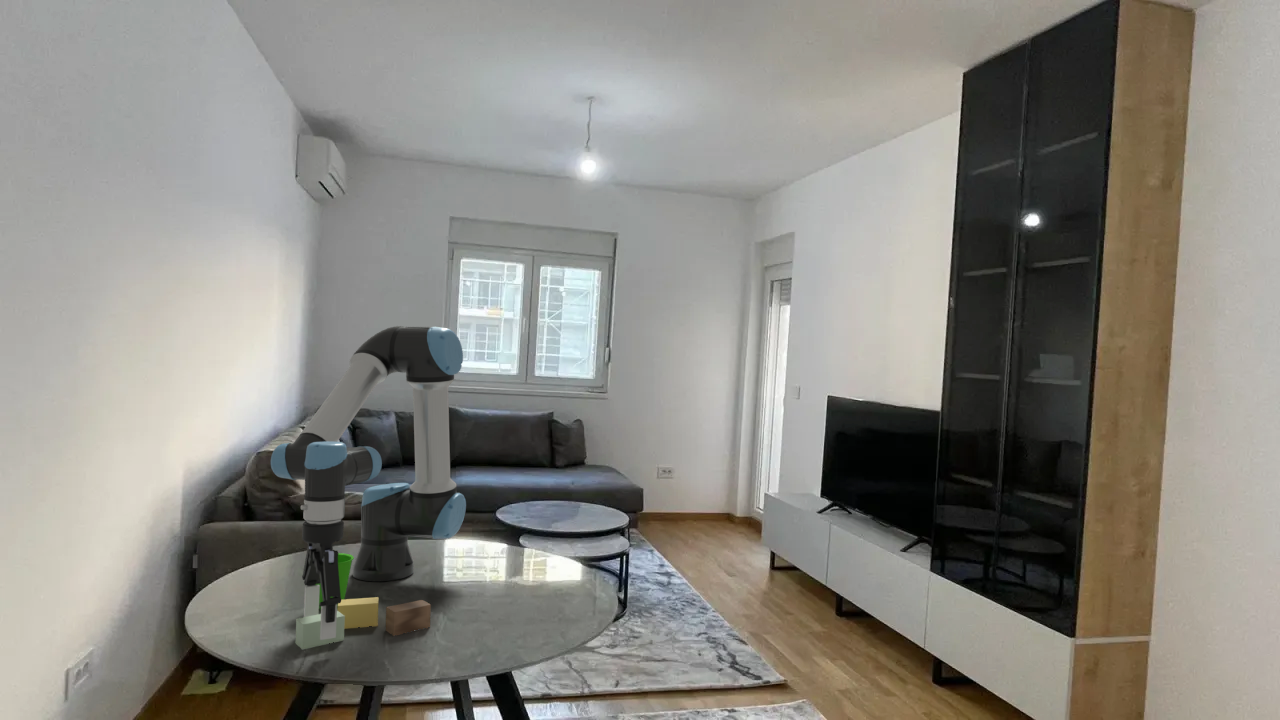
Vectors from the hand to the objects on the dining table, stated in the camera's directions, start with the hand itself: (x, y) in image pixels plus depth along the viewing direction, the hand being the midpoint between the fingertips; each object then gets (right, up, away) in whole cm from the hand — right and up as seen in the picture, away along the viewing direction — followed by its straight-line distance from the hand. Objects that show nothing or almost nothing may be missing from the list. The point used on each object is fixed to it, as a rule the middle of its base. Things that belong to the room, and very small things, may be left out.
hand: (319, 627), depth 149 cm
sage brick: (0, -3, 0) cm, 3 cm away
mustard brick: (+4, -3, +11) cm, 12 cm away
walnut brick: (+15, -4, +9) cm, 18 cm away
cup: (-6, -3, +21) cm, 22 cm away
